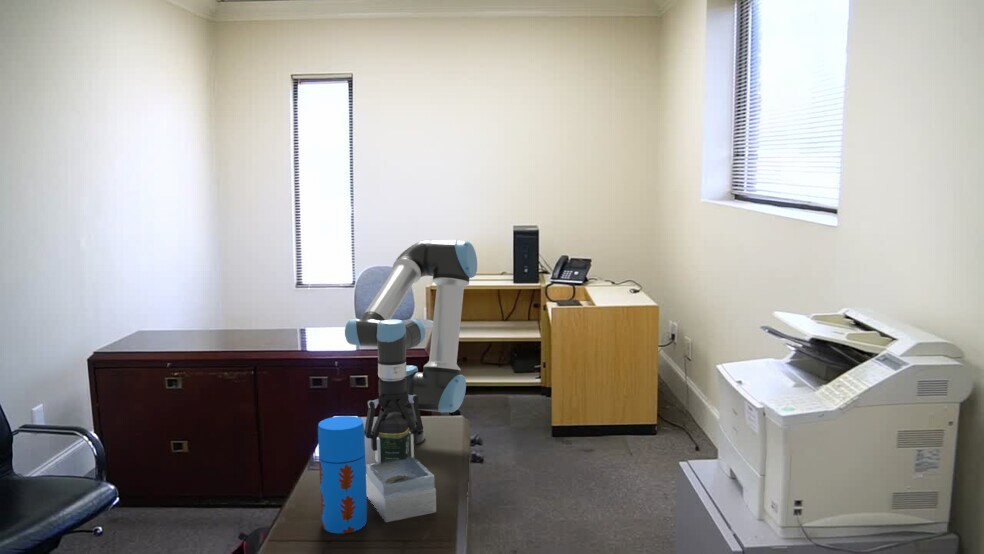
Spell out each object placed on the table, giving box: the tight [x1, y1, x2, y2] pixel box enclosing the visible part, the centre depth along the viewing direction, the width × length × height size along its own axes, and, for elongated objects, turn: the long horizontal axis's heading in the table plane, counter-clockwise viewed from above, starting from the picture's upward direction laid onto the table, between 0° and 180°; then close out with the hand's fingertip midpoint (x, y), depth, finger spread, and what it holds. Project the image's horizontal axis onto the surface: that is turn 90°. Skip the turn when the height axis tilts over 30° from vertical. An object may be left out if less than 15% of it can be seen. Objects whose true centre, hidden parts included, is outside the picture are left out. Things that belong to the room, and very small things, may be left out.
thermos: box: [317, 415, 368, 534], centre depth 182 cm, size 11×11×25 cm
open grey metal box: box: [366, 456, 437, 523], centre depth 193 cm, size 13×17×9 cm
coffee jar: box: [379, 413, 410, 462], centre depth 208 cm, size 10×8×19 cm
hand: (394, 458), depth 208 cm, fingers closed on coffee jar, 9 cm apart
